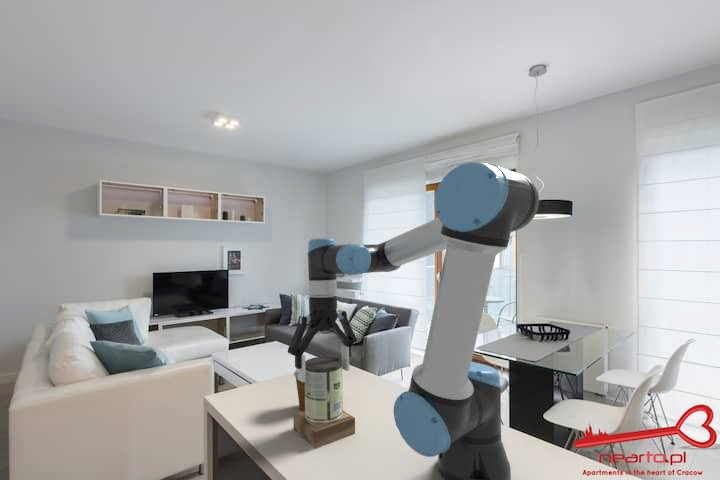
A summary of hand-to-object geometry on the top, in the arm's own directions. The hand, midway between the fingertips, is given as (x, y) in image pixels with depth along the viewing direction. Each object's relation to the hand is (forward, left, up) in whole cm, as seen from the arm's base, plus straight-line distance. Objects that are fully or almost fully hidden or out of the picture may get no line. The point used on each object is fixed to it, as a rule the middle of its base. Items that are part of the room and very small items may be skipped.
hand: (324, 375), depth 97 cm
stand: (0, 0, -15) cm, 15 cm away
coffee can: (0, 0, -11) cm, 11 cm away
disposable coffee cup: (+15, -4, -15) cm, 22 cm away
